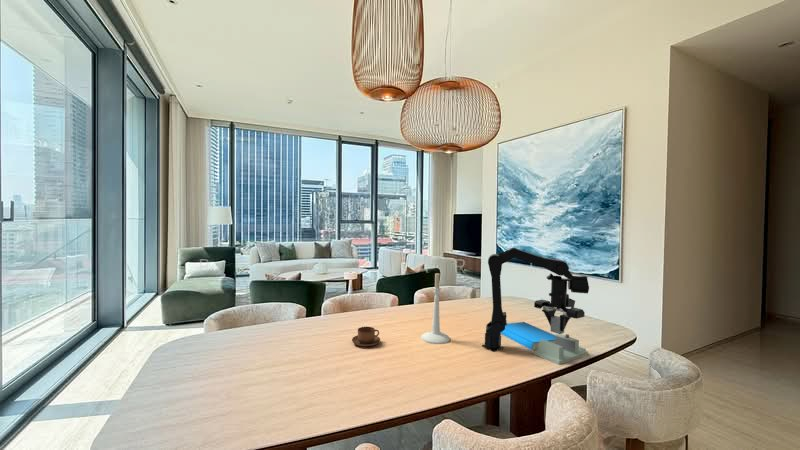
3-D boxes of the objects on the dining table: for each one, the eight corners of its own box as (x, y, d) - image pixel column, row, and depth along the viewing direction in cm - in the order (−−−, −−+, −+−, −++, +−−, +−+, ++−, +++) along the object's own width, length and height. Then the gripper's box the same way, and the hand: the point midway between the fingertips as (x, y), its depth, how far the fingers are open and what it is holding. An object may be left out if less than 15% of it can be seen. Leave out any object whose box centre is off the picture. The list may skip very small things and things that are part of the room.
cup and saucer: (366, 336, 154) (366, 323, 153) (385, 343, 146) (386, 329, 146) (346, 343, 144) (346, 329, 144) (365, 351, 137) (366, 336, 137)
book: (523, 321, 171) (563, 337, 147) (523, 330, 171) (563, 347, 147) (495, 324, 165) (532, 341, 141) (495, 333, 165) (532, 352, 141)
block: (559, 334, 134) (560, 319, 134) (550, 331, 138) (551, 316, 137) (564, 333, 136) (564, 318, 136) (554, 330, 139) (555, 315, 139)
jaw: (574, 353, 136) (575, 338, 136) (554, 346, 143) (555, 332, 143) (578, 352, 137) (579, 337, 137) (558, 345, 145) (559, 331, 145)
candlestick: (440, 346, 144) (442, 276, 143) (415, 339, 151) (417, 272, 151) (454, 338, 154) (456, 272, 153) (431, 331, 162) (432, 269, 161)
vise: (558, 364, 129) (559, 349, 128) (533, 354, 138) (534, 340, 138) (588, 354, 139) (588, 340, 139) (562, 345, 148) (563, 332, 148)
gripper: (593, 294, 133) (591, 333, 133) (550, 285, 149) (548, 320, 149) (576, 296, 127) (575, 338, 127) (534, 287, 143) (532, 324, 143)
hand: (557, 329), depth 137 cm, fingers closed on block, 4 cm apart
